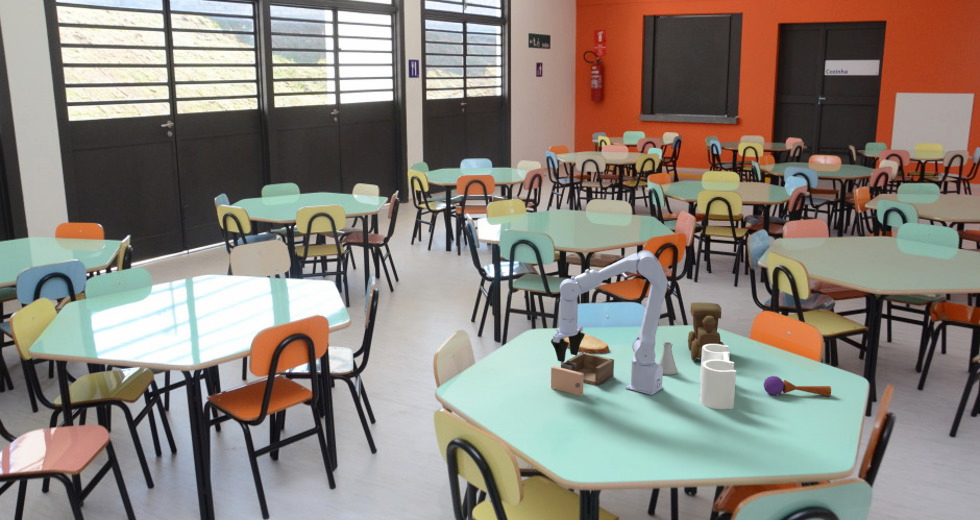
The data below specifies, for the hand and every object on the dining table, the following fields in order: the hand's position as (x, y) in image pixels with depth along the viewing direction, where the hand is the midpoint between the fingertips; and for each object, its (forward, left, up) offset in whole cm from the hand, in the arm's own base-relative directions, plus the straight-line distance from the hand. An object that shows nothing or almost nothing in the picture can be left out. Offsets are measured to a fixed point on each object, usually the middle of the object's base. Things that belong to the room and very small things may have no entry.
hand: (567, 357), depth 261 cm
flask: (-20, -31, -10) cm, 38 cm away
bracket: (-40, -23, -10) cm, 47 cm away
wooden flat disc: (+16, -37, -10) cm, 42 cm away
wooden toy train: (-24, -54, -10) cm, 60 cm away
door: (-2, +3, -10) cm, 10 cm away
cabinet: (-1, -10, -10) cm, 14 cm away
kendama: (-61, -37, -10) cm, 72 cm away
